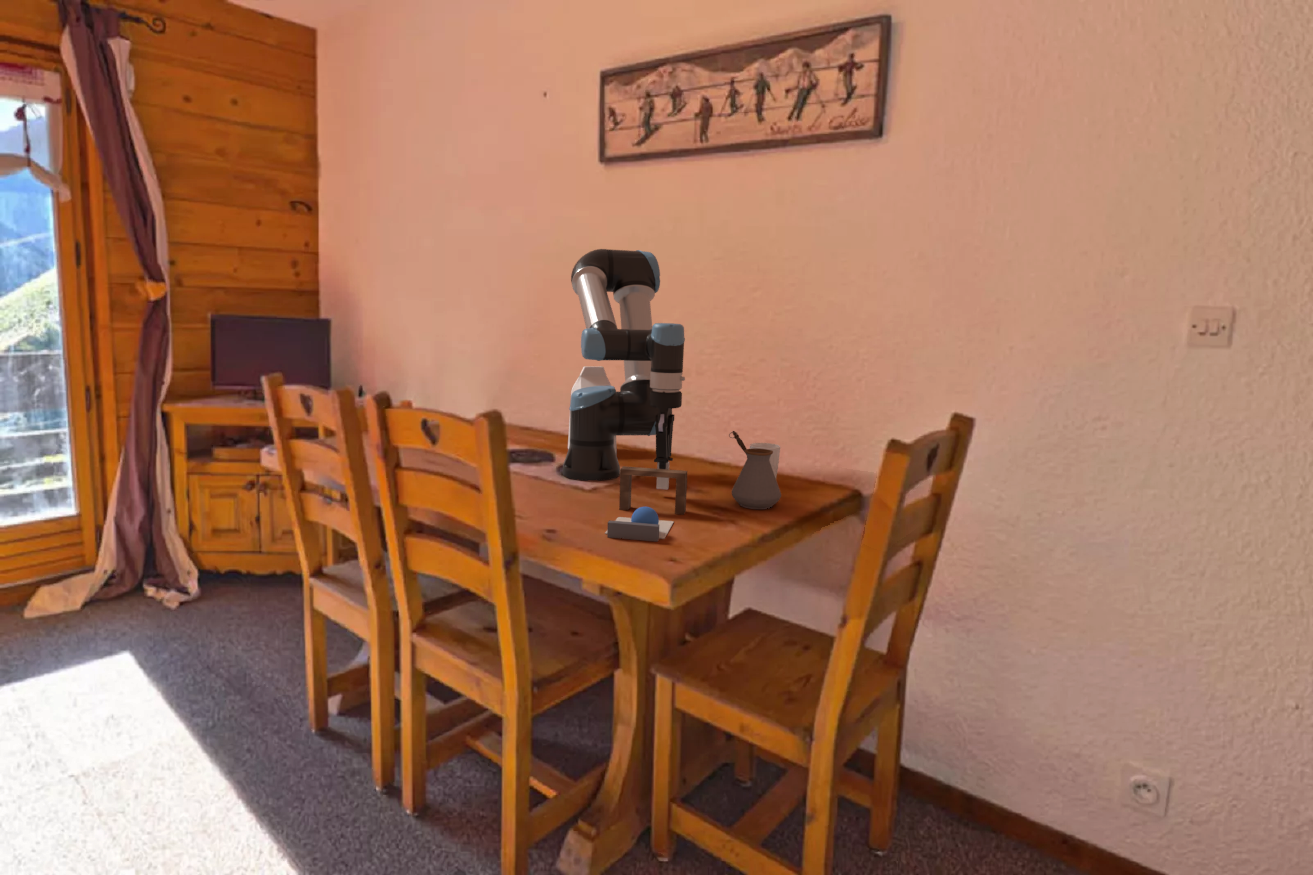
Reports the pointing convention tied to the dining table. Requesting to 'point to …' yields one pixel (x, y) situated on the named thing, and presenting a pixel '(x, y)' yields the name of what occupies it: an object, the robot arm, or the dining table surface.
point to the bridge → (651, 472)
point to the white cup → (774, 457)
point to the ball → (645, 516)
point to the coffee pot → (756, 479)
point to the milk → (591, 385)
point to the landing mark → (663, 525)
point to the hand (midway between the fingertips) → (662, 488)
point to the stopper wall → (633, 530)
